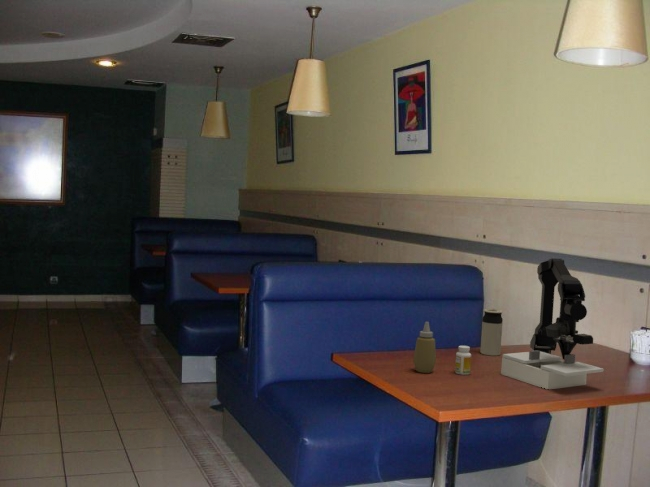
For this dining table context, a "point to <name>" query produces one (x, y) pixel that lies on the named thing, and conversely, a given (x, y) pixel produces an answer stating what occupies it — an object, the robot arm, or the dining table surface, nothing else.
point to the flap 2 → (571, 367)
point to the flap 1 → (532, 357)
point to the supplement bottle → (463, 360)
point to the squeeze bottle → (425, 351)
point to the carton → (540, 374)
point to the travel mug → (491, 332)
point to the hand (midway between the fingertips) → (564, 359)
